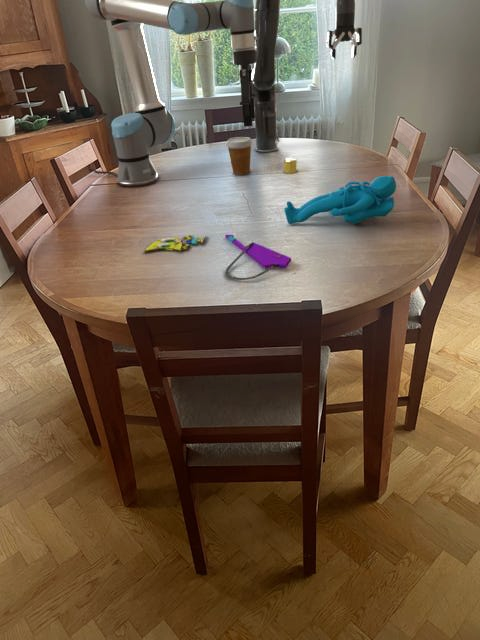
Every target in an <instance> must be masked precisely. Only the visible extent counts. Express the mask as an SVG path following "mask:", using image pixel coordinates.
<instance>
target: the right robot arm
mask: <svg viewBox="0 0 480 640" xmlns="http://www.w3.org/2000/svg"><path fill="white" fill-rule="evenodd" d="M254 7H255V9H254V30H255V32H254V33H255V35H254V36H257V40H255V43H256V47H255V50H256V55H257V62H256V63H254V68H253V69H252V84H253V91H254V93H255V97H254V110H255V118H254V130H255V131H254V132H255V150H256V152H259V153H270V152H271V153H272V152H275V151H277V150H278V149H279V148H278V142H279V140H278V129H279V128H278V124H277V123H278V122H277V120H278V119H277V98H276V60H275V59H276V55H275V54H276V46H277V40H278V33H279V23H280V11H281V10H280V9H281V0H256V1H255V6H254ZM334 12H335V15H334V16H335V17H334V18H335V21H334V26H335V28H334V30H327V32H326V33H327V34H326V48H328V49H330V59H331V60H336V57H337V53H336V52H337V49H336V48H337V46H338V45H339V44H340V43H344V42H349V43H350V44H351V46H352V47H351V58H356V56H357V54H358V53H357V49H358V47H359V46H361V45H362V43H363V39H362V38H363V28H362V27H357V28H355V22H356V21H355V19H356V0H336V2H335V11H334ZM354 34H355V35H356V39H355V37H354ZM334 36H335V38H334V40H333V37H334ZM332 41H333V42H332ZM254 93H253V94H254Z"/></svg>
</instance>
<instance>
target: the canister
mask: <svg viewBox="0 0 480 640" xmlns="http://www.w3.org/2000/svg"><path fill="white" fill-rule="evenodd" d="M297 161H298V160H297V158H294V157H288V158H284V159H283V172H284V173H285V174H295V173H297V170H298V168H297V165H298V164H297Z"/></svg>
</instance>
